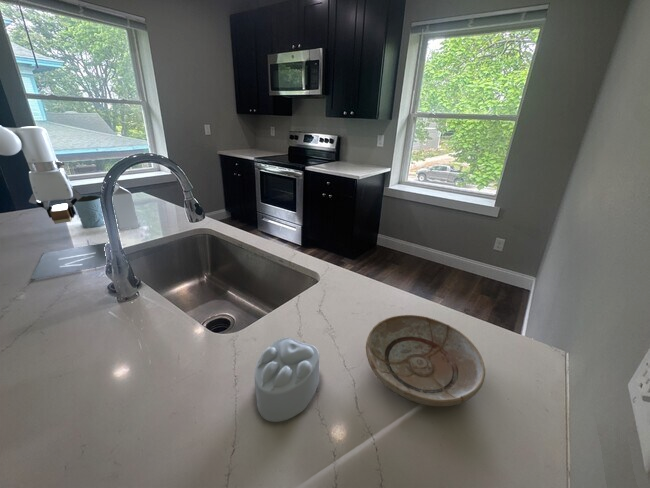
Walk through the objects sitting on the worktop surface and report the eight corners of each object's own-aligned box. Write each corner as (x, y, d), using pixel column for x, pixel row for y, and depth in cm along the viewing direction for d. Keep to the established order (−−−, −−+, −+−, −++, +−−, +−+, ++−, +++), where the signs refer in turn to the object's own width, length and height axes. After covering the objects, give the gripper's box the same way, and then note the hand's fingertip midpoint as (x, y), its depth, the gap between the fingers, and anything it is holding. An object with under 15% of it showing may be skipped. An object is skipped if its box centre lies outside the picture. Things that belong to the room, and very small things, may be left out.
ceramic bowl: (360, 328, 74) (361, 311, 72) (454, 332, 74) (459, 316, 72) (369, 415, 53) (372, 396, 51) (502, 422, 53) (510, 403, 51)
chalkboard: (31, 283, 87) (30, 280, 87) (44, 255, 103) (43, 252, 102) (112, 266, 97) (111, 264, 97) (113, 244, 112) (113, 241, 112)
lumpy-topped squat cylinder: (324, 376, 61) (326, 344, 57) (292, 433, 50) (291, 398, 46) (281, 358, 64) (279, 327, 61) (242, 408, 54) (238, 374, 50)
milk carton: (135, 222, 132) (124, 180, 124) (140, 227, 128) (129, 183, 120) (116, 226, 128) (104, 182, 120) (120, 231, 123) (108, 186, 115)
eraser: (70, 221, 105) (66, 209, 103) (54, 224, 103) (49, 211, 101) (73, 214, 111) (69, 203, 109) (58, 217, 109) (53, 205, 107)
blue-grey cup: (103, 218, 135) (96, 193, 130) (113, 224, 130) (105, 197, 125) (76, 225, 128) (67, 198, 123) (86, 231, 122) (76, 203, 117)
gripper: (77, 162, 106) (93, 211, 114) (13, 166, 98) (35, 218, 106) (75, 166, 100) (91, 217, 108) (6, 170, 92) (30, 225, 100)
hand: (63, 217), depth 107 cm, fingers closed on eraser, 4 cm apart
